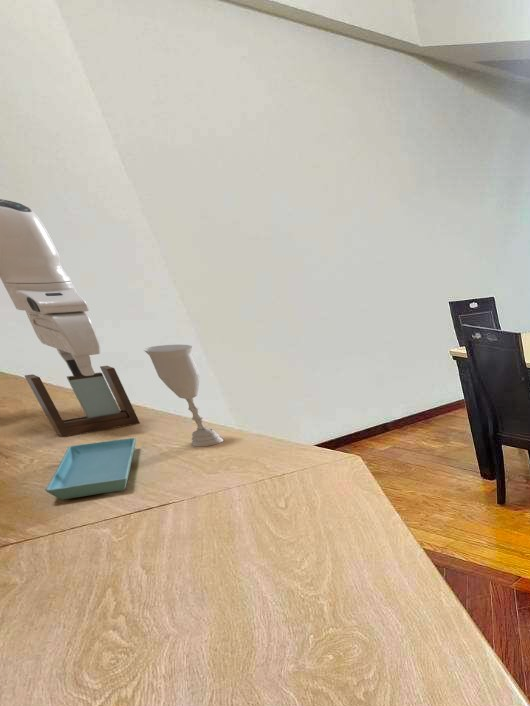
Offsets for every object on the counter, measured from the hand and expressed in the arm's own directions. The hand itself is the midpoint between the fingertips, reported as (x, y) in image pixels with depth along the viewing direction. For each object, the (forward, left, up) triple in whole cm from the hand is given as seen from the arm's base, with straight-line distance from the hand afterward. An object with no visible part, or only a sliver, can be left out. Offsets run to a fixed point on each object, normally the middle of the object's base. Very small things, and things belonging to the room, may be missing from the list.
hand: (83, 373), depth 118 cm
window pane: (0, 0, -9) cm, 9 cm away
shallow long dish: (-10, -31, -11) cm, 35 cm away
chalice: (+7, -26, -11) cm, 29 cm away
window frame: (-2, 0, -11) cm, 11 cm away
